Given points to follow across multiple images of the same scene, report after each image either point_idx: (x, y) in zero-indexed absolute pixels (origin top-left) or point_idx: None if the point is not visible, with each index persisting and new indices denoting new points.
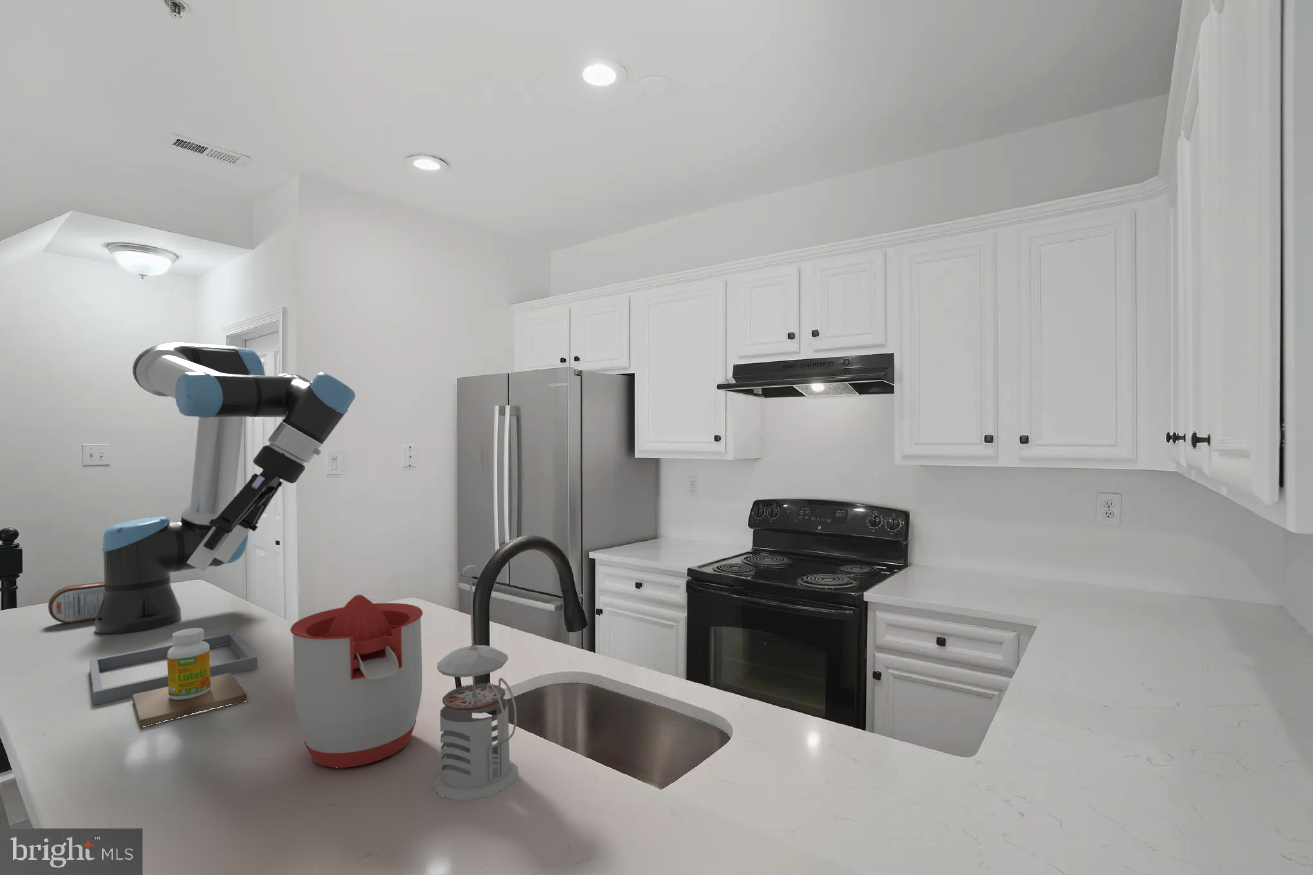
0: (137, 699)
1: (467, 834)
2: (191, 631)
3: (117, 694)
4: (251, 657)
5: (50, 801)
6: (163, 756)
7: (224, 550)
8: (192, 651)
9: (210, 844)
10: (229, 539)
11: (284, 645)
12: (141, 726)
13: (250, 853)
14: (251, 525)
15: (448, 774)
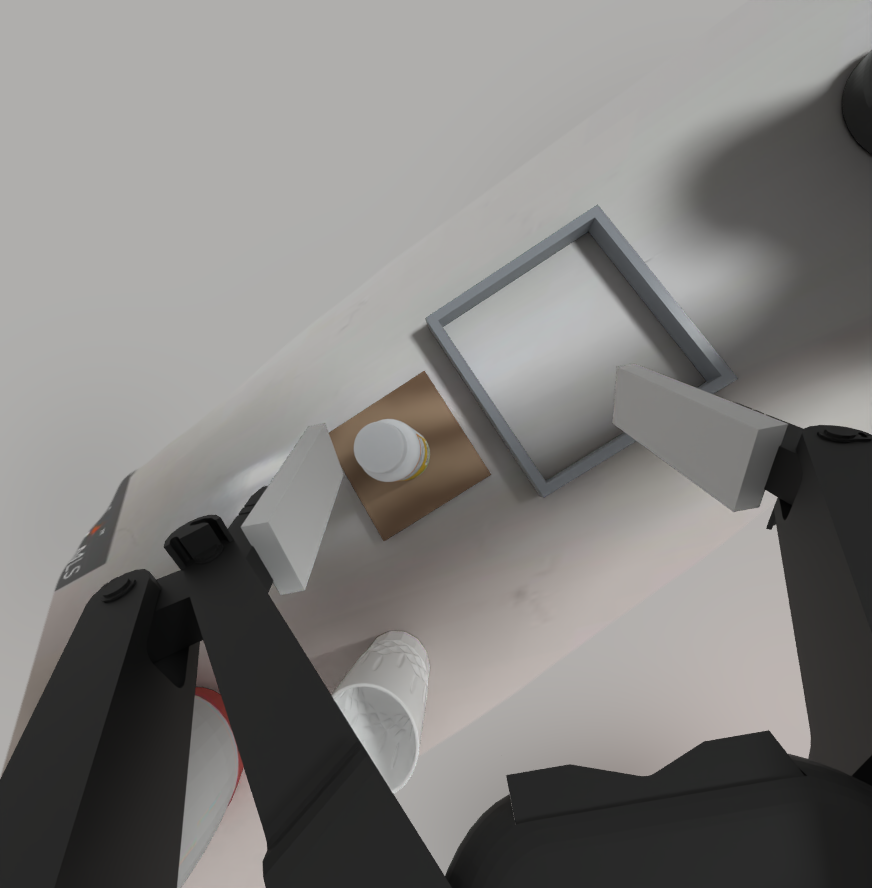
0: (401, 389)
1: None
2: (377, 453)
3: (440, 343)
4: (543, 488)
5: (176, 447)
6: (242, 507)
7: (637, 410)
8: (362, 467)
9: (64, 636)
10: (673, 421)
11: (677, 496)
12: None
13: (41, 676)
14: (777, 524)
15: None
